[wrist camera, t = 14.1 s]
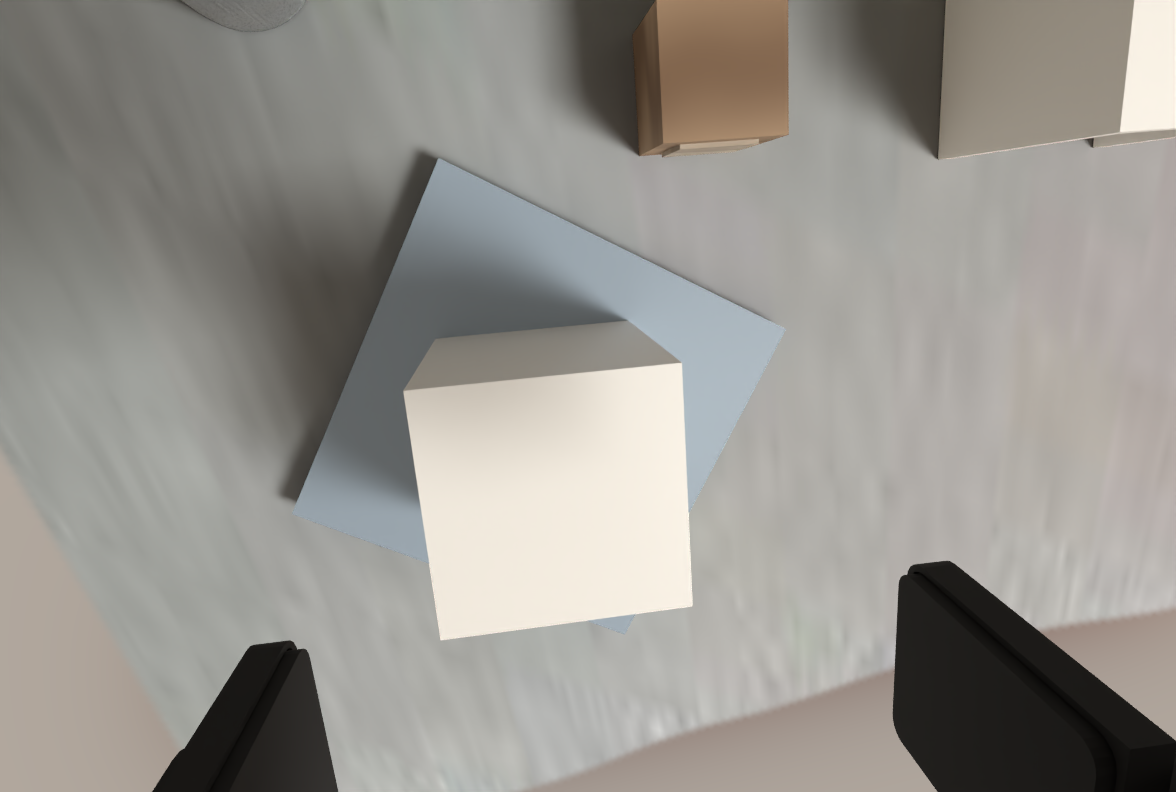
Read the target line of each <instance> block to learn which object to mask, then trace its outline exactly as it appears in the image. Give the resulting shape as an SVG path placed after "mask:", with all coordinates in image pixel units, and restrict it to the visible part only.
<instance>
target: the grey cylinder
mask: <svg viewBox="0 0 1176 792" xmlns="http://www.w3.org/2000/svg"><path fill="white" fill-rule="evenodd" d="M181 1H183V2H184V3H186V4H187V5H189V6H190V7H192V8H193V9H194V10H196V11H197V12H199V13H200V14H202V15H203V16H205V17H207V18H209V19H210V20H212V21H214V22H216V23H218V24H220V25H222V26H225V27H227V28H230V29H234V30H238V31H244V32H260V31H266V30H270V29H273V28H275V27H278V26H280V25H282V24H284V23H285V22H287V21H288V20H290V19H291V18H292V17H293V16H294V15H295V14H296V13H297V12H298V11H299V10H300V9H301V7H302V6H303V5H304V3H305V1H306V0H181Z"/></svg>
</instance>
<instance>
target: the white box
mask: <svg viewBox="0 0 1176 792" xmlns="http://www.w3.org/2000/svg"><path fill="white" fill-rule="evenodd" d="M403 393H404V399H405V406H406V413H407V419H408V426H409V433H410V439H411V446H412V453H413V459H414V466H415V473H416V479H417V486H418V493H419V499H420V506H421V512H422V519H423V526H424V532H425V539H426V546H427V552H428V559H429V566H430V572H431V579H432V586H433V592H434V599H435V606H436V612H437V619H438V626H439V632H440V639H441V640H447V639H454V638H462V637H469V636H477V635H484V634H491V633H499V632H506V631H514V630H521V629H528V628H536V627H543V626H551V625H558V624H565V623H573V622H580V621H588V620H595V619H603V618H610V617H617V616H625V615H632V614H640V613H647V612H654V611H662V610H669V609H677V608H684V607H691V606H693V604H692V581H691V558H690V535H689V512H688V489H687V466H686V444H685V421H684V398H683V375H682V362H680V361H679V360H678V359H677V358H675V357H674V356H673V355H672V354H670V353H669V352H668V351H666V350H665V349H664V348H663V347H661V346H660V345H659V344H658V343H656V342H655V341H654V340H652V339H651V338H650V337H649V336H647V335H646V334H645V333H643V332H642V331H641V330H640V329H638V328H637V327H636V326H635V325H633V324H632V323H631V322H629V321H628V320H627V321H617V322H606V323H596V324H585V325H575V326H564V327H553V328H543V329H532V330H522V331H511V332H500V333H490V334H479V335H469V336H458V337H448V338H437V339H435V341H434V342H433V344H432V345H431V347H430V349H429V350H428V352H427V353H426V355H425V357H424V358H423V360H422V362H421V363H420V365H419V366H418V368H417V370H416V371H415V373H414V374H413V376H412V378H411V379H410V381H409V382H408V384H407V386H406V387H405V389H404V390H403Z"/></svg>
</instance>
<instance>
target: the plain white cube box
mask: <svg viewBox="0 0 1176 792" xmlns="http://www.w3.org/2000/svg"><path fill="white" fill-rule="evenodd" d="M1088 138H1094V142H1093V148H1098V147H1109V146H1117V145H1125V144H1132V143H1140V142H1148V141H1155V140H1163V139H1171V138H1176V0H946V7H945V28H944V49H943V69H942V90H941V110H940V131H939V152H938V160H941V159H953V158H960V157H967V156H974V155H980V154H987V153H994V152H1000V151H1007V150H1014V149H1021V148H1027V147H1034V146H1041V145H1047V144H1054V143H1061V142H1068V141H1074V140H1081V139H1088Z"/></svg>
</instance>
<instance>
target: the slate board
mask: <svg viewBox="0 0 1176 792" xmlns="http://www.w3.org/2000/svg"><path fill="white" fill-rule="evenodd" d="M627 320H628V321H629V322H631V323H632V324H633V325H635V326H636V327H637V328H638V329H640V330H641V331H642V332H643V333H645V334H646V335H647V336H649V337H650V338H651V339H652V340H654V341H655V342H656V343H658V344H659V345H660V346H661V347H663V348H664V349H665V350H666V351H668V352H669V353H670V354H672V355H673V356H674V357H675V358H677V359H678V360H679V361H680V362H682V375H683V398H684V421H685V444H686V466H687V489H688V512H690V510H691V508H692V506H693V504H694V502H695V501H696V499H697V497H698V495H699V493H700V491H701V489H702V487H703V485H704V484H705V482H706V480H707V478H708V476H709V474H710V472H711V470H712V468H713V466H714V465H715V463H716V461H717V459H718V457H719V455H720V453H721V451H722V449H723V448H724V446H725V444H726V442H727V440H728V438H729V436H730V434H731V432H732V430H733V429H734V427H735V425H736V423H737V421H738V419H739V417H740V415H741V413H742V412H743V410H744V408H745V406H746V404H747V402H748V400H749V398H750V396H751V394H752V393H753V391H754V389H755V387H756V385H757V383H758V381H759V379H760V377H761V376H762V374H763V372H764V370H765V368H766V366H767V364H768V362H769V360H770V358H771V357H772V355H773V353H774V351H775V349H776V347H777V345H778V343H779V341H780V340H781V338H782V336H783V334H784V332H785V330H786V329H785V328H783V327H781V326H779V325H777V324H775V323H773V322H771V321H769V320H767V319H764V318H762V317H760V316H758V315H756V314H754V313H752V312H750V311H748V310H746V309H744V308H742V307H740V306H738V305H736V304H734V303H732V302H730V301H728V300H726V299H724V298H722V297H720V296H718V295H716V294H714V293H712V292H710V291H708V290H706V289H704V288H702V287H700V286H698V285H695V284H693V283H691V282H689V281H687V280H685V279H683V278H681V277H679V276H677V275H675V274H673V273H671V272H669V271H667V270H665V269H663V268H661V267H659V266H657V265H655V264H653V263H651V262H649V261H647V260H645V259H643V258H641V257H639V256H637V255H635V254H633V253H631V252H629V251H627V250H624V249H622V248H620V247H618V246H616V245H614V244H612V243H610V242H608V241H606V240H604V239H602V238H600V237H598V236H596V235H594V234H592V233H590V232H588V231H586V230H584V229H582V228H580V227H578V226H576V225H574V224H572V223H570V222H568V221H566V220H564V219H562V218H560V217H558V216H556V215H553V214H551V213H549V212H547V211H545V210H543V209H541V208H539V207H537V206H535V205H533V204H531V203H529V202H527V201H525V200H523V199H521V198H519V197H517V196H515V195H513V194H511V193H509V192H507V191H505V190H503V189H501V188H499V187H497V186H495V185H493V184H491V183H489V182H487V181H485V180H482V179H480V178H478V177H476V176H474V175H472V174H470V173H468V172H466V171H464V170H462V169H460V168H458V167H456V166H454V165H452V164H450V163H448V162H446V161H444V160H442V159H440V158H438V161H437V163H436V165H435V168H434V170H433V173H432V175H431V177H430V180H429V182H428V185H427V187H426V190H425V192H424V194H423V197H422V199H421V202H420V204H419V207H418V209H417V211H416V214H415V216H414V219H413V221H412V224H411V226H410V228H409V231H408V233H407V236H406V238H405V241H404V243H403V245H402V248H401V250H400V253H399V255H398V258H397V260H396V262H395V265H394V267H393V270H392V272H391V275H390V277H389V279H388V282H387V284H386V287H385V289H384V292H383V294H382V296H381V299H380V301H379V304H378V306H377V309H376V311H375V313H374V316H373V318H372V321H371V323H370V326H369V328H368V330H367V333H366V335H365V338H364V340H363V343H362V345H361V347H360V350H359V352H358V355H357V357H356V360H355V362H354V364H353V367H352V369H351V372H350V374H349V377H348V379H347V381H346V384H345V386H344V389H343V391H342V394H341V396H340V398H339V401H338V403H337V406H336V408H335V411H334V413H333V415H332V418H331V420H330V423H329V425H328V428H327V430H326V432H325V435H324V437H323V440H322V442H321V445H320V447H319V449H318V452H317V454H316V457H315V459H314V462H313V464H312V466H311V469H310V471H309V474H308V476H307V479H306V481H305V483H304V486H303V488H302V491H301V493H300V496H299V498H298V500H297V503H296V505H295V508H294V510H293V513H292V514H293V515H296V516H299V517H302V518H304V519H307V520H310V521H313V522H315V523H318V524H321V525H324V526H326V527H329V528H332V529H335V530H337V531H340V532H343V533H346V534H349V535H351V536H354V537H357V538H360V539H362V540H365V541H368V542H371V543H373V544H376V545H379V546H382V547H384V548H387V549H390V550H393V551H395V552H398V553H401V554H404V555H407V556H409V557H412V558H415V559H418V560H420V561H423V562H426V563H429V559H428V552H427V546H426V539H425V532H424V526H423V519H422V512H421V506H420V499H419V493H418V486H417V479H416V473H415V466H414V459H413V453H412V446H411V439H410V433H409V426H408V419H407V413H406V406H405V399H404V393H403V390H404V389H405V387H406V386H407V384H408V382H409V381H410V379H411V378H412V376H413V374H414V373H415V371H416V370H417V368H418V366H419V365H420V363H421V362H422V360H423V358H424V357H425V355H426V353H427V352H428V350H429V349H430V347H431V345H432V344H433V342H434V341H435V339H437V338H448V337H458V336H469V335H479V334H490V333H500V332H511V331H522V330H532V329H543V328H553V327H564V326H575V325H585V324H596V323H606V322H617V321H627ZM634 616H635V614H632V615H625V616H617V617H610V618H603V619H595V620H588V621H589V622H592V623H594V624H597V625H600V626H603V627H605V628H608V629H611V630H614V631H616V632H619V633H622V634H625V633H626V631H627V629H628V627H629V626H630V624H631V622H632V620H633V618H634Z"/></svg>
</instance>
